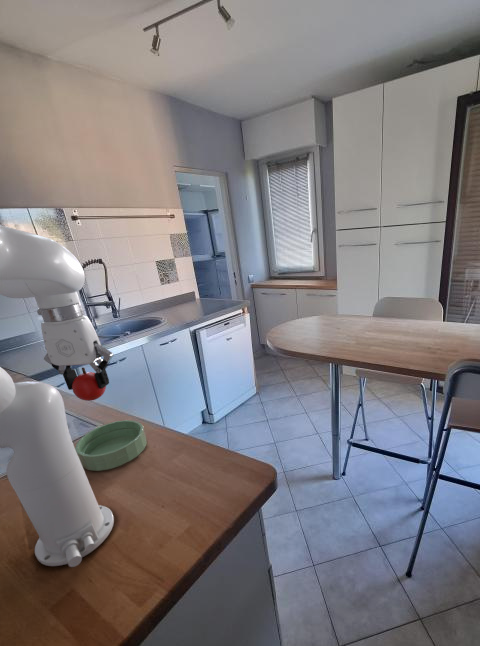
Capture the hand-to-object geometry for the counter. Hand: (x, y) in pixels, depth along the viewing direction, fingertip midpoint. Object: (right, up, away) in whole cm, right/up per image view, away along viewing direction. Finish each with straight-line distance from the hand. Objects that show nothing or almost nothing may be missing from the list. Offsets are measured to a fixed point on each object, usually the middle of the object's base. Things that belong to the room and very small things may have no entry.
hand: (89, 386), depth 79 cm
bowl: (+3, -18, +7) cm, 19 cm away
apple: (0, -3, +1) cm, 4 cm away
